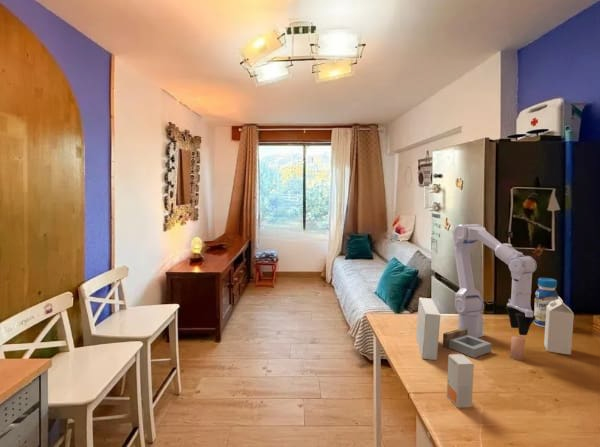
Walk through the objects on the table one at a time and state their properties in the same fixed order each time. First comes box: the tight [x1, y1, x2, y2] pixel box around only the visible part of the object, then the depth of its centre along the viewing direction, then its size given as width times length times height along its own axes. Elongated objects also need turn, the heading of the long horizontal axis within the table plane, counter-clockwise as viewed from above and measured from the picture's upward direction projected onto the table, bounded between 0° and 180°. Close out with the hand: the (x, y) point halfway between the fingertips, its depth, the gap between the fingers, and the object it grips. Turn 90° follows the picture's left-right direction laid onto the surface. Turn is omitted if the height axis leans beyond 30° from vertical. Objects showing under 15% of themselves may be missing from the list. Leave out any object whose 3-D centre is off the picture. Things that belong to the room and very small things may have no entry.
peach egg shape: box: [509, 335, 526, 361], centre depth 130 cm, size 4×4×7 cm
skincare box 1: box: [415, 297, 441, 361], centre depth 137 cm, size 21×5×16 cm, turn 168°
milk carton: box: [543, 295, 575, 356], centre depth 137 cm, size 7×7×19 cm
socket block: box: [448, 334, 493, 359], centre depth 136 cm, size 10×10×3 cm
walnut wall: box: [442, 328, 468, 349], centre depth 141 cm, size 12×2×5 cm, turn 121°
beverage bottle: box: [533, 277, 559, 328], centre depth 163 cm, size 8×8×20 cm
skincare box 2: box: [446, 353, 475, 409], centre depth 102 cm, size 6×4×12 cm
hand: (518, 331), depth 130 cm, fingers open, 6 cm apart
